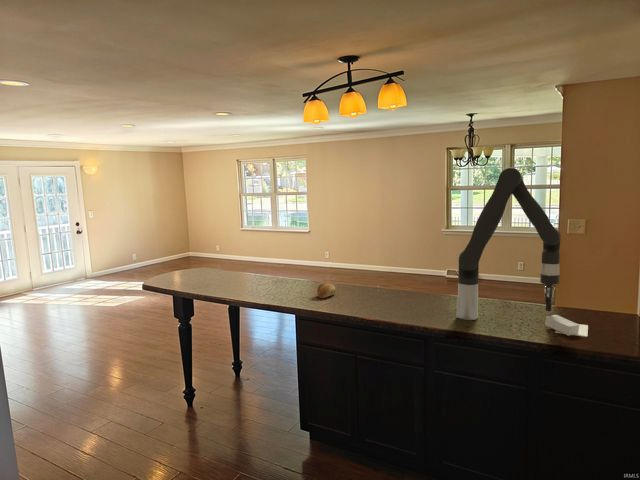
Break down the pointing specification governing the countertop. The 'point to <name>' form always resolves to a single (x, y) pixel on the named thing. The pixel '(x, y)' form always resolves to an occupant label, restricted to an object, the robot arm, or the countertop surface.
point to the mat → (580, 331)
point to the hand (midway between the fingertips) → (548, 310)
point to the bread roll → (326, 290)
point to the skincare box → (562, 325)
